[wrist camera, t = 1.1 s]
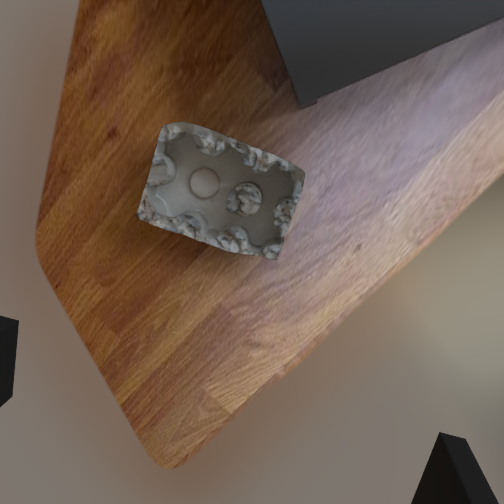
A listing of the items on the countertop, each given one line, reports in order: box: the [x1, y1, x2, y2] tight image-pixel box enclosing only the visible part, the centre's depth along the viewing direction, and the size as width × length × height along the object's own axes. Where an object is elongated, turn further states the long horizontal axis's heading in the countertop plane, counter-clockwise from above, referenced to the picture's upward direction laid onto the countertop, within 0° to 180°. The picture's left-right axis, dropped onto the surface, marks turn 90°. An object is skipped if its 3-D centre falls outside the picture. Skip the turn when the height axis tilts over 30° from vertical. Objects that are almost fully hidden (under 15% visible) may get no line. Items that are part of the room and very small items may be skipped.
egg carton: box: [136, 122, 305, 260], centre depth 32 cm, size 11×8×4 cm
